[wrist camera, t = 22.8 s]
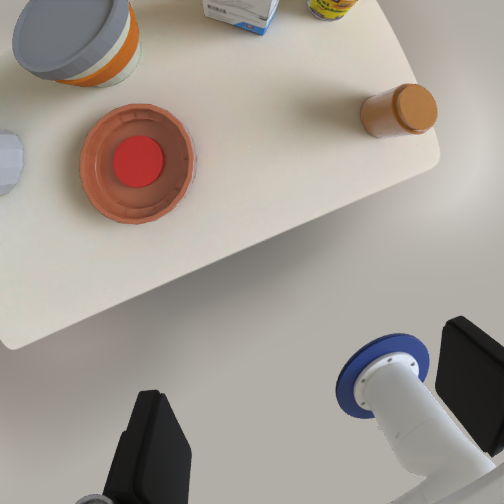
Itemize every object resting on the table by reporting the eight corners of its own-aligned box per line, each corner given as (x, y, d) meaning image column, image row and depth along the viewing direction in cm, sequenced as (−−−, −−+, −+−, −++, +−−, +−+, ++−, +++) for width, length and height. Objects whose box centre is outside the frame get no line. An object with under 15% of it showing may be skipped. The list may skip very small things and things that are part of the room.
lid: (122, 193, 38) (119, 194, 37) (111, 144, 37) (107, 144, 35) (170, 179, 38) (168, 179, 37) (159, 129, 37) (156, 128, 35)
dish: (207, 205, 40) (205, 209, 36) (105, 229, 40) (94, 235, 36) (185, 96, 36) (181, 90, 33) (84, 127, 36) (71, 124, 32)
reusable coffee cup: (165, 75, 35) (134, 33, 21) (80, 115, 36) (18, 99, 21) (141, 4, 32) (109, -52, 18) (62, 44, 32) (7, 8, 18)
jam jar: (401, 136, 39) (444, 132, 30) (364, 140, 39) (402, 135, 30) (393, 95, 38) (434, 81, 28) (356, 97, 38) (391, 81, 28)
